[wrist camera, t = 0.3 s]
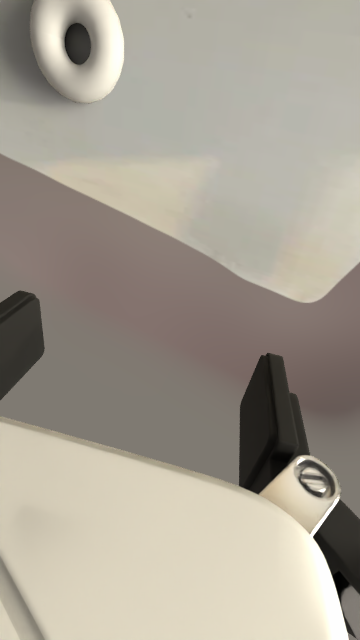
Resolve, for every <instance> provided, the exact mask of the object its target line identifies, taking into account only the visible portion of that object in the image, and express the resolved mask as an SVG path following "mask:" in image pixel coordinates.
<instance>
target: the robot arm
mask: <svg viewBox="0 0 360 640" xmlns="http://www.w3.org/2000/svg"><path fill="white" fill-rule="evenodd" d="M43 353H44V340H43V331H42V321H41V311H40V302H39V299H37V298H36V296H35V295H34V294H32V293H28V292H24V291H18V292H16V293H14V294H13V295H11V296H10V297H8V298H7V299H5V300H4V301H2V302H1V303H0V400H1V399H2V398H3V397H4V396H5V395H6V394H7V393H8V391H10V390H11V388H12V387H13V386H14V385H15V384H16V383H17V382H18V381H19V380H20V379H21V378H22V377H23V376H24V375H25V374H26V373H27V372H28V370H29V369H30V368H31V367H32V366H33V365H34V364H35V363H36V362H37V361H38V360H39V359H40V358H41V356H42V355H43ZM239 457H240V458H239V459H240V460H239V462H240V463H239V464H240V465H239V486H237V485H234V484H231V483H229V482H226V481H223V480H220V479H217V478H214V477H211V476H207V475H204V474H201V473H198V472H194V471H191V470H188V469H185V468H181V467H178V466H175V465H171V464H168V463H164V462H161V461H157V460H154V459H150V458H147V457H143V456H140V455H136V454H133V453H129V452H126V451H123V450H119V449H116V448H112V447H108V446H105V445H101V444H98V443H94V442H91V441H87V440H83V439H80V438H76V437H73V436H70V435H66V434H62V433H59V432H55V431H52V430H48V429H45V428H41V427H37V426H34V425H30V424H27V423H23V422H19V421H15V420H12V419H8V418H5V417H1V416H0V640H349V639H348V635H347V632H348V633H349V634H351V635H352V636H354V637H355V638H357V640H360V519H359V518H358V517H357V516H356V515H355V514H354V513H353V512H352V511H351V510H350V509H349V508H348V507H347V506H346V505H345V504H344V503H343V502H342V501H341V500H340V499H339V498H340V495H341V486H340V484H339V481H338V479H337V477H336V475H335V474H334V472H333V471H332V470H331V469H330V468H329V467H328V466H327V465H326V464H325V463H323V462H322V461H321V460H319V459H317V458H315V457H313V456H310V453H309V448H308V443H307V439H306V434H305V429H304V425H303V420H302V415H301V411H300V406H299V401H298V398H297V395H296V394H293V393H289V389H288V383H287V378H286V372H285V367H284V361H283V357H282V356H279V355H275V354H271V353H267V354H266V356H264V355H261V357H260V359H259V361H258V364H257V366H256V368H255V371H254V373H253V375H252V378H251V380H250V382H249V385H248V387H247V389H246V392H245V394H244V397H243V399H242V401H241V405H240V456H239Z"/></svg>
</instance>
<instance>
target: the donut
mask: <svg viewBox="0 0 360 640" xmlns="http://www.w3.org/2000/svg"><path fill="white" fill-rule="evenodd" d="M74 23H80V24H82V25H84V26H85V28H86V29H87V31H88V33H89V36H90V39H91V52H90V56H89V58H88V60H87V61H86V62H85V63H84V64H81V65H76V64H74V63H73V62H72V61H71V60H70V59H69V57H68V55H67V53H66V50H65V42H64V41H65V34H66V32H67V29H68V28H69V27H70V25H72V24H74ZM30 36H31V43H32V49H33V52H34V54H35V57H36V60H37V63H38V66H39V68H40V69H41V71H42V73H43V74H44V76H45V78H46V79H47V81H48V82H49V84H50V85H51V86H52V87H53V88H54V89H56V90H57V91H58V92H59V93H60V94H61V95H62V96H64V97H66V98H68V99H70V100H72V101H74V102H78V103H88V104H89V103H92V102H95V101H98V100H101V99H103V98H104V97H105V96H106V95H107V94H109V93H110V92H111V91H112V90H113V88H114V86H115V84H116V83H117V81H118V79H119V77H120V74H121V70H122V65H123V61H124V38H123V34H122V29H121V25H120V21H119V18H118V16H117V14H116V12H115V10H114V8H113V6H112V4H111V2H110V0H34V3H33V6H32V8H31V17H30Z"/></svg>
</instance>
